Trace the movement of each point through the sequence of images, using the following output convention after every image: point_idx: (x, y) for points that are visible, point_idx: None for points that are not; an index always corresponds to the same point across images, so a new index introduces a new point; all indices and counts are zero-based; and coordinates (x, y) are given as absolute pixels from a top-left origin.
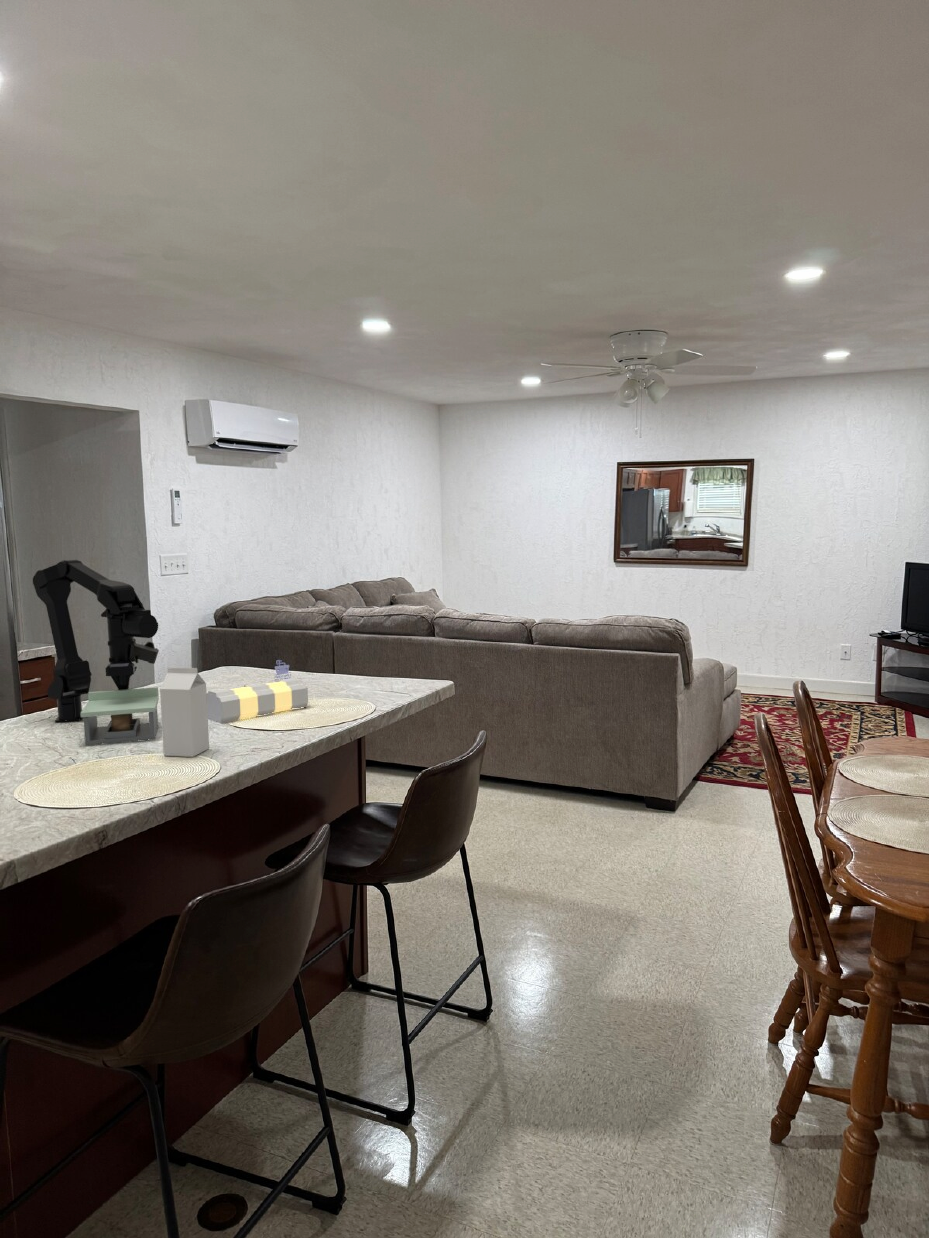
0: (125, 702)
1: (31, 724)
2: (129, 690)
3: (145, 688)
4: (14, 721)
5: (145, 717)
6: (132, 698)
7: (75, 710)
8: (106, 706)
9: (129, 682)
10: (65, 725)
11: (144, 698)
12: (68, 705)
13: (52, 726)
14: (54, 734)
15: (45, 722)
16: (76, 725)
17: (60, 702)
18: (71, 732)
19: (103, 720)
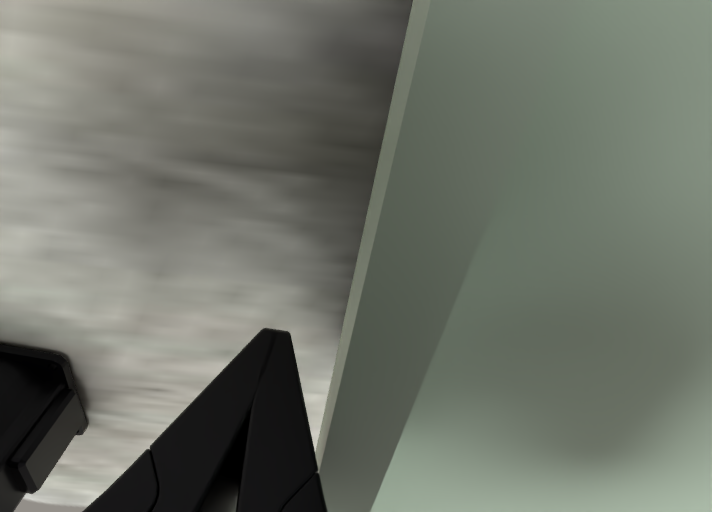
0: (644, 390)
1: (97, 473)
2: (409, 409)
3: (427, 210)
4: (34, 496)
5: (18, 15)
6: (453, 309)
7: (24, 415)
8: (682, 504)
9: (185, 471)
10: (151, 406)
11: (584, 187)
12: (33, 469)
13: (156, 436)
14: (315, 445)
15: (70, 444)
16: (166, 377)
17: (17, 505)
18: (310, 404)
19: (75, 276)
